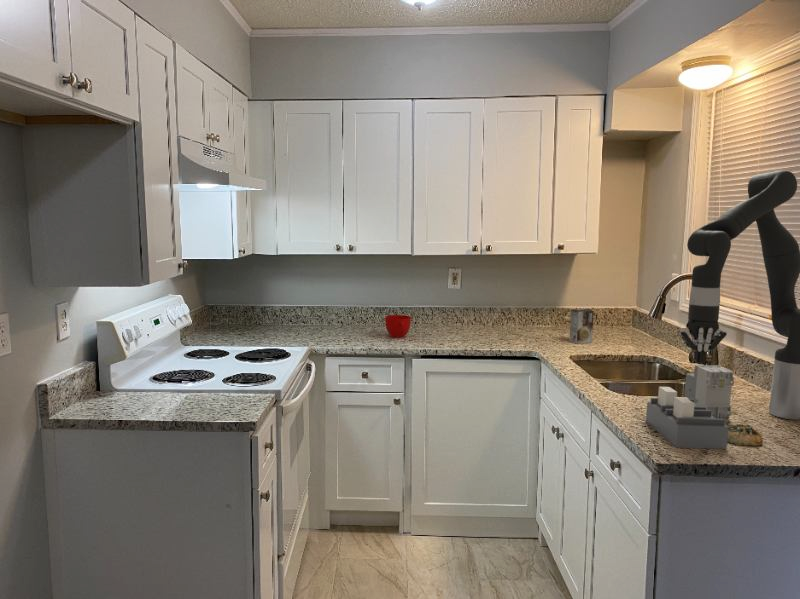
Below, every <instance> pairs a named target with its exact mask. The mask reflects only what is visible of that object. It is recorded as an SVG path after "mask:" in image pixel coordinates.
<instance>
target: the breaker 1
mask: <svg viewBox="0 0 800 599" xmlns="http://www.w3.org/2000/svg"><path fill="white" fill-rule="evenodd" d="M675 397H678V391H676V389H673V388H672V387H670V386H658V395H657V398H658V404H659V405H660V406H661V405H669V406H674V398H675Z"/></svg>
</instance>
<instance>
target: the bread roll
mask: <svg viewBox="0 0 800 599" xmlns="http://www.w3.org/2000/svg"><path fill="white" fill-rule="evenodd" d="M726 425H727V426H728V427H729V429H728V439H727V443H729V442H731V444H733V443H734V445H739V446H752V447H757V446H758V447H759V446H762V445H763V442H764V441H763V437H762V434H760V432H759V431H757V430H756V429H755V428H754V427H752V426H751V425H750V424H746V425H744V424H742V423H737V424H726Z"/></svg>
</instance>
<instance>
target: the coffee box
mask: <svg viewBox="0 0 800 599" xmlns="http://www.w3.org/2000/svg"><path fill="white" fill-rule="evenodd" d="M594 311H595V310H592V309H589V308H578V309H577V308H575V309H570V322H569V324H570V326H569V328H570V329H569V342H571V343H574V344H576V345H578V344H579V343H580V344H591V343H593V333H594V332H593V330H594V313H595V312H594Z"/></svg>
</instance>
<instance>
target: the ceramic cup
mask: <svg viewBox="0 0 800 599" xmlns="http://www.w3.org/2000/svg"><path fill="white" fill-rule="evenodd" d="M384 319H385V328H386V331H387V332H388V335H390V337H392V338H396V339H400V338H401V339H402V338H404V337H405V336H407V334H408V333H409V330H410V328H411V323H412V317H411V316H410V315H405V314H391V315H386V316H385V317H384Z"/></svg>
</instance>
